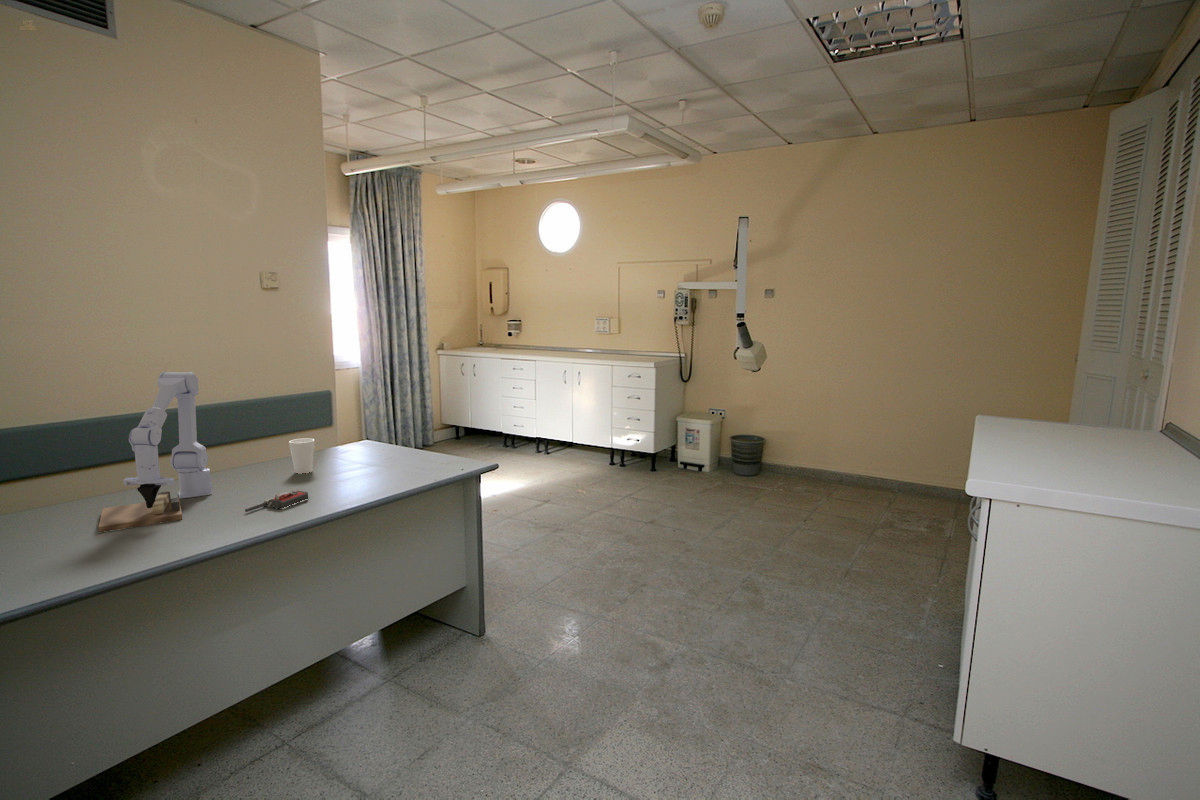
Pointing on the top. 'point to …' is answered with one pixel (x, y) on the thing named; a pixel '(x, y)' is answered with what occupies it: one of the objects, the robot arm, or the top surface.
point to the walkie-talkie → (282, 500)
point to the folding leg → (161, 502)
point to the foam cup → (302, 454)
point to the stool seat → (137, 515)
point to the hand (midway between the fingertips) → (151, 507)
